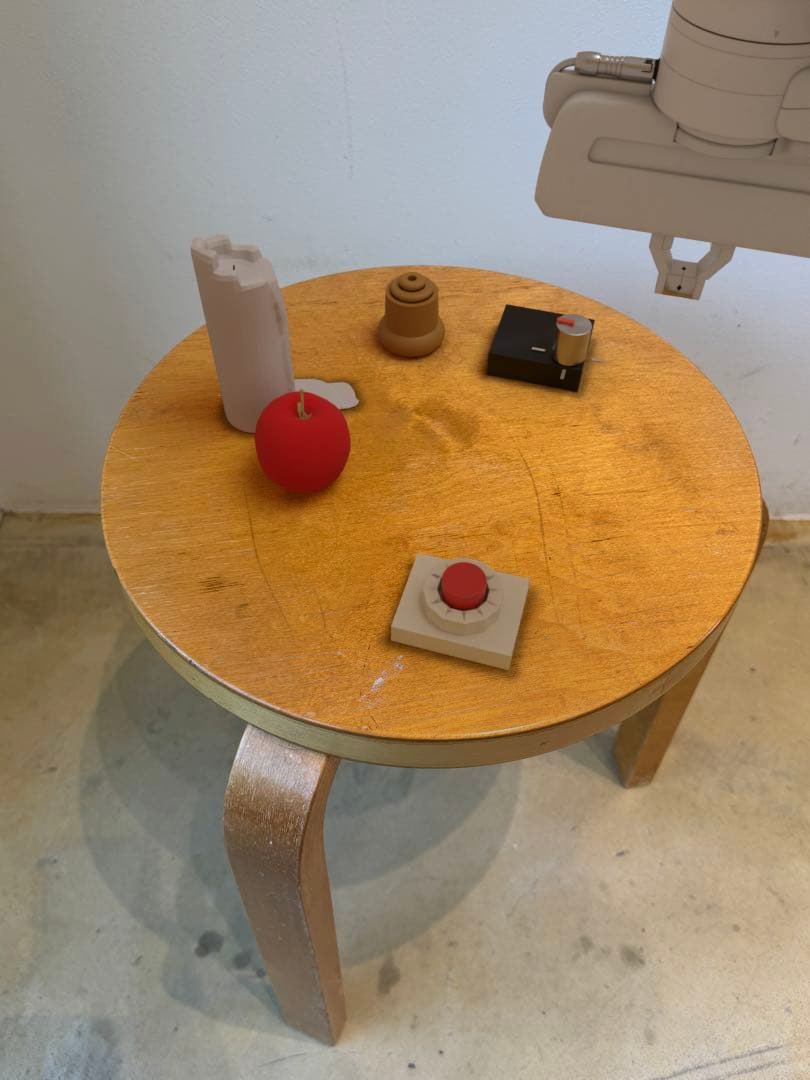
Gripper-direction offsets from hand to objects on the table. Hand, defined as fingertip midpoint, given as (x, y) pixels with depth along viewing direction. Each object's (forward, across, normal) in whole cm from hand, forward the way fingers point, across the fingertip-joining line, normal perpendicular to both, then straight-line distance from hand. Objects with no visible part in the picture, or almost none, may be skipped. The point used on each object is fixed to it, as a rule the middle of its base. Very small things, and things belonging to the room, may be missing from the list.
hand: (676, 292), depth 56 cm
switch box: (+27, -10, -11) cm, 31 cm away
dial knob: (+24, -7, +22) cm, 34 cm away
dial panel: (+27, -9, +24) cm, 37 cm away
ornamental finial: (+27, -25, +24) cm, 44 cm away
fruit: (+27, -29, +1) cm, 40 cm away
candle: (+27, -34, +10) cm, 45 cm away
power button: (+23, -10, -11) cm, 28 cm away
